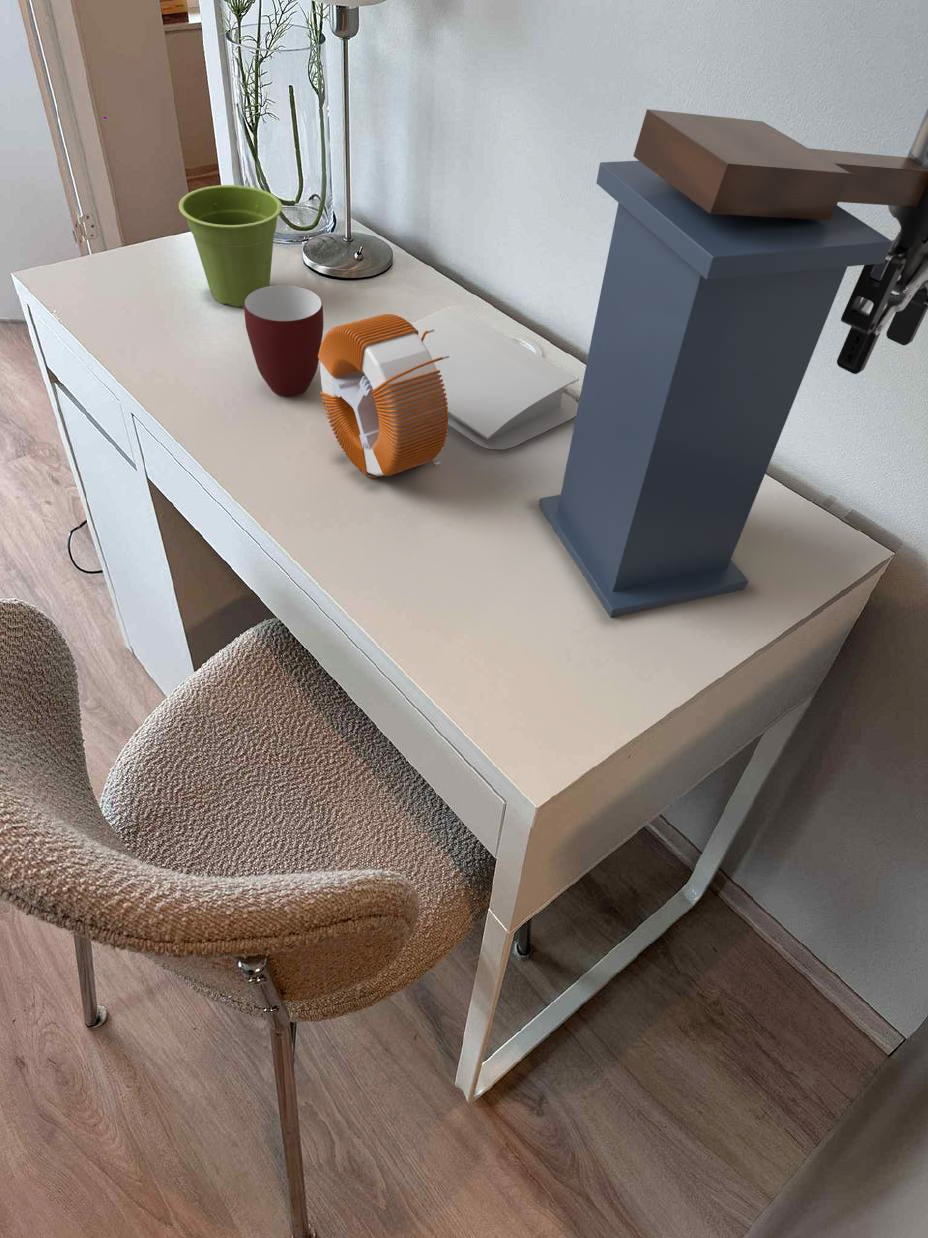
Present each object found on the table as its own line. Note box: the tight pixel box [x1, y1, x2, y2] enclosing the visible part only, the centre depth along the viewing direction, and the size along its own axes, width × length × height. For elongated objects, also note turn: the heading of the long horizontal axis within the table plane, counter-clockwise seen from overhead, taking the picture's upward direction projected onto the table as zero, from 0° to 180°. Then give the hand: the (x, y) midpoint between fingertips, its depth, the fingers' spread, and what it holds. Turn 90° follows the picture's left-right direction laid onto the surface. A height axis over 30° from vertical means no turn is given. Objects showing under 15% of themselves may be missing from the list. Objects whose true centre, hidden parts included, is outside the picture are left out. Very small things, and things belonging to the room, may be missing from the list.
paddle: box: [632, 108, 928, 220], centre depth 62 cm, size 24×10×3 cm, turn 111°
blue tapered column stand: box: [538, 160, 893, 618], centre depth 73 cm, size 14×16×32 cm
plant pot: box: [178, 184, 283, 308], centre depth 109 cm, size 12×12×11 cm
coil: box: [318, 313, 449, 478], centre depth 86 cm, size 7×15×15 cm, turn 36°
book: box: [410, 304, 580, 451], centre depth 101 cm, size 15×23×4 cm, turn 43°
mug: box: [243, 284, 324, 398], centre depth 96 cm, size 11×8×10 cm
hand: (873, 354), depth 77 cm, fingers open, 8 cm apart
